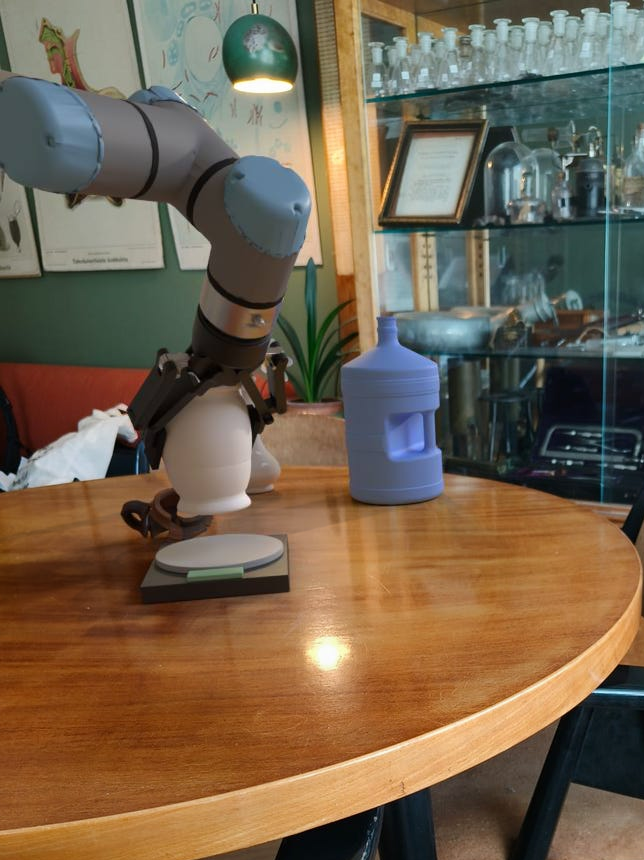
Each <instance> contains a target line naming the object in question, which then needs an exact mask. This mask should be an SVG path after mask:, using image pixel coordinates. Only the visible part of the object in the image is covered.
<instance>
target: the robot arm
mask: <svg viewBox="0 0 644 860" xmlns="http://www.w3.org/2000/svg"><path fill="white" fill-rule="evenodd" d="M0 171H1V172H4V173H5V174H6V175H7V177H8V179H10V180H11V181H13V183H16V184H18V185H20V186H23V187H26V188H30V189H35V190H39V191H42V192H46V193H52V194H56V195H69V194H76V195H89V196H97V197H98V196H100V197H110V198H118V199H125V200H134V201H144V202H154V203H164V204H168V205H170V206H172V207H174V208H175V210H177V211H178V213H180V215H181V216H182V217H183V218H184V219H185V220H186V221H187V222H188V223H189V224H190V225H191V226H192V227H193V228H194V229H195V230H196V231H197V232H198V233H200V234H201V235H202V236H203V238H205V239H206V240H207V241H208V243H209V244H210V251H209V255H208V260H207V265H206V270H205V274H204V278H203V282H202V286H201V290H200V293H199V301H198V305H197V308H196V313H195V317H194V321H193V325H192V330H191V342H190V344H189V346H188V347H187V348H185V351H184V352H179V353H171V352H170V350H169V349H168V348H167V347H161V348H158V350H157V351H156V356H155V363H154V365H153V367H152V368H151V370H150V372H149V373H148V375H147V376H146V378H145V379H144V381H143V382H142V384H141V386H140V387H139V388H138V390H137V392H136V393H135V395H134V397H133V398H132V400H131V401H130V403H129V405H128V406H127V408H126V410H125V412H126V414H127V417H128V418H129V420H130V423H131V425H132V427H133V429H134V430H135V431H136V432H139V431H140V432H139V433H140V434H139V437H140V439H141V442H142V443H143V446H144V449H143V454H144V456H145V458H146V460H147V463H148V465H149V467H150V469H151V471H158V470H159V469H160V466H161V461H162V453H163V448H164V444H165V440H166V435H167V432H166V430H165V428H164V426H165V425H166V424H167V423H168V422H169V421H170V420H171V419H173V418H174V417H175V416H176V415H177V414H178V413H179V412H180V411H181V410H182V409H183V408H184V407H185V406H186V405H187V404H188V403H189V402H190V401H192V400H193V399H194V398H195V397H196V396H202V395H204V394H205V393H206V392H207V391H208V390H209V389H210V388H216V387H219V386H236V384H237V383H240V382H241V383H242V385H243V387H244V388H245V390H246V392H247V393H248V395H249V397H250V398H251V400H252V402H253V404H254V405H255V408H254V406H253V404H249V405H246V406H247V410H248V414H249V419H250V424H251V433H252V448H253V446H254V443H255V440H256V437H257V434H260V435H262V434H263V432H264V430H265V427H266V426H269V425H272V424H273V423H274V422H275V418H274V416H273V415H274V414H276V413H277V415H278V416H279V415H280V416H281V415H282V416H283V415H284V414H286V413H287V411H288V406H287V392H286V381H285V376H284V372H285V373H286V369H287V368H288V367H287V364H288V361H289V360H288V358H287V357H288V356H287V354H286V352H285V350H284V348H283V346H282V345H281V343H280V341H278V340H275V341H274V342H272V343H271V344H270V346H269V343H270V340H271V338H273V337H272V336H273V334H274V328H275V326H276V323H277V320H278V317H279V315H280V311H281V308H282V305H283V302H284V299H285V295H286V292H287V289H288V288H287V287H288V285H289V281H290V278H291V276H292V272H293V270H294V267H295V264H296V262H297V260H298V257H299V254H300V251H301V249H303V246H304V244H305V242H306V238H307V229H308V224H309V219H310V216H311V212H312V195H311V192H310V190H309V188H308V185H307V184H306V182H305V180H304V179H303V178H302V177H301V176H300V175H299V174H298V173H297V172H296V171H295V170H294V169H292V168H291V167H285V166H283V165H282V164H281V163H280V161H279V160H277V159H275V158H272V157H269V156H265V155H259V154H249V155H245V156H240V154H238V153H237V152H236V151H235V150H234V149H233V147H231V146H230V145H229V144H228V143H227V141H226V140H225V139H224V138H223V137H222V136H221V135H220V134H219V133H218V132H217V131H216V130H215V129H214V127H212V126H211V125H210V123H209V122H208V121H207V120H206V119H205V117H204V115H203V114H202V113H201V112H199V110H198V109H197V108H196V107H195V106H193V105H192V104H190V103H188V102H187V101H186V100H185V99H183V98H182V97H181V96H180V95H179V94H178V93H177V92H176V91H174V90H173V89H171V88H169V87H166V86H163V85H155V84H154V85H151V86H149V87H148V88H147V89H137V90H136V91H134V92H133V93H132V94H131V95H129V96H128V98H127V99H124V98H119V97H117V98H116V97H112V96H108V95H105V94H100V93H96V92H92V91H88V90H85V89H80V88H75V87H72V86H69V85H63V84H61V83H58V82H54V81H49V80H47V79H43V78H37V77H29V76H27V75H25V74H24V75H23V74H20V73H16V72H12V71H8V70H5V69H1V68H0ZM268 346H269V348H268ZM264 361H265V363H266V370H267V380H266V381H267V390H268V397H267V398H264V397H263V395H262V393H261V392H260V390H259V388H258V386H257V385H256V382H254V381H253V379H252V377H251V375H250V374H251V373H252V372H254V371H255V370H256V369H257V368H258V367H259V366H261V365H262V364H263V362H264ZM196 377H197V378H198V379H199V380H200V382H198V380H197V378H196Z"/></svg>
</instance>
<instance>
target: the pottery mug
mask: <svg viewBox="0 0 644 860" xmlns="http://www.w3.org/2000/svg"><path fill="white" fill-rule="evenodd" d="M179 501H180V496H179V495H178V494H177V492H176V491H175V489H174V488H173V487H168V488H164V489H161V490H159V491H158V492H157V493H156V494H155V495H154V496H153V500H151V501H150V502H145V501H142V500H138V499H131V500H128V501H126V502H124V504H123V505H122V508H121V510H120V514H119V515H120V517H121V518H122V521H123V522H124V523H125V524H126V525H127V526H128V527H129V528H131V529H132V530H134V531H137V532H138V533H139V534H140V535H141V536H142V537H143V538H144V539H147V538H148V537H149V536H150V538H151V539H153V540H154V539H155V538H156V537H157V536H158V535H160V534H163V533H167V532H168V535H167V539H166V541H165V543H173V542H181V541H185V540H189V539H194V538H197V536H200V535H202V534H204V533H205V532H207V531H208V528H210V527H211V525H212V523H213V520H214V515H193V516H190V517H183V516H181V515H178V512H179V511H178V510H177V505H178V503H179ZM134 514H136V515H137V516H138V517H139V518H140V519H138V518H137V517H136V516H135V515H134Z"/></svg>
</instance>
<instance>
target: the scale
mask: <svg viewBox="0 0 644 860" xmlns="http://www.w3.org/2000/svg"><path fill="white" fill-rule="evenodd" d="M139 591H140V595H141V603H142V604H143V605H148V604H160V603H171V602H172V603H173V602H182V601H193V600H194V601H195V600H206V599H216V598H217V599H218V598H229V597H239V596H250V595H251V596H253V595H263V594H274V593H275V594H276V593H285V592H286V593H287V592H291V578H290V546H289V537H288V533H283V534H269V535H268V534H267V535H264V534H263V535H262V534H256V533H227V534H226V533H225V534H213V535H206V536H199V537H194V538H192V539H189V540H185V541H181V542H173V543H167V542H162V543H160V545H159V548H158V550H157V552H156V553H155V555H154V557H153V560H152V561H151V564H150V565H149V568H148V570H147V572H146V574H145V576H144V578H143V580H142V582H141V584H140V586H139Z"/></svg>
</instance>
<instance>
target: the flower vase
mask: <svg viewBox="0 0 644 860" xmlns="http://www.w3.org/2000/svg"><path fill="white" fill-rule="evenodd" d="M274 341H276V339H275V338H273V337H271V340H270V343H269V346H270V344H271V343H272V342H274ZM269 346H268V348H269ZM287 358H288V360H289V361H288V364H287V367H286V368H289V367H291V366H292V365H293V364H294V361H293V359H292V358H291V357H289V356H287ZM254 374H257V376H258V377H259V378H260V380H262V381H268V380H267V370H266V363H265V361H264V362H263V364H262V365H261V366H259V367H258V368H257V369H256V370H255V371H254V372H252V373H251V374H250V375H251V377H252V379H253V381H254V382H255V383H256V382H257V377H256V376H255V375H254ZM284 376H285V382H288V381H289V377H288V375H287V373H286V371H285V372H284ZM241 393H242V396H243V398H244V400H245V403H246V405H249V404H253V402H252V400H251V398H250V397H249V395H248V393H247V392H246V390H245V388H244V387H242V388H241ZM253 406H254V408H255V405H254V404H253ZM281 474H282V467H281V464H280V463H279V461H278V460H277V458H276V457H275V456H274V455H273V454H271V453H270V452H269V451H268V449H267V448H266V446H265V444H264V443H263V441H262V437H261V434H257V437H256V440H255V443H254V446H253V448H252V451H251V473H250V479H249V483H248V486H247V488H246V489H245V493H246V495H248V494H249V495H252V494H263V493H267V492H268V493H269V492H270V491H273V490H274V489H275V486H274V483H276V482H277V481H278V480H279V478H280V476H281Z"/></svg>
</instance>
